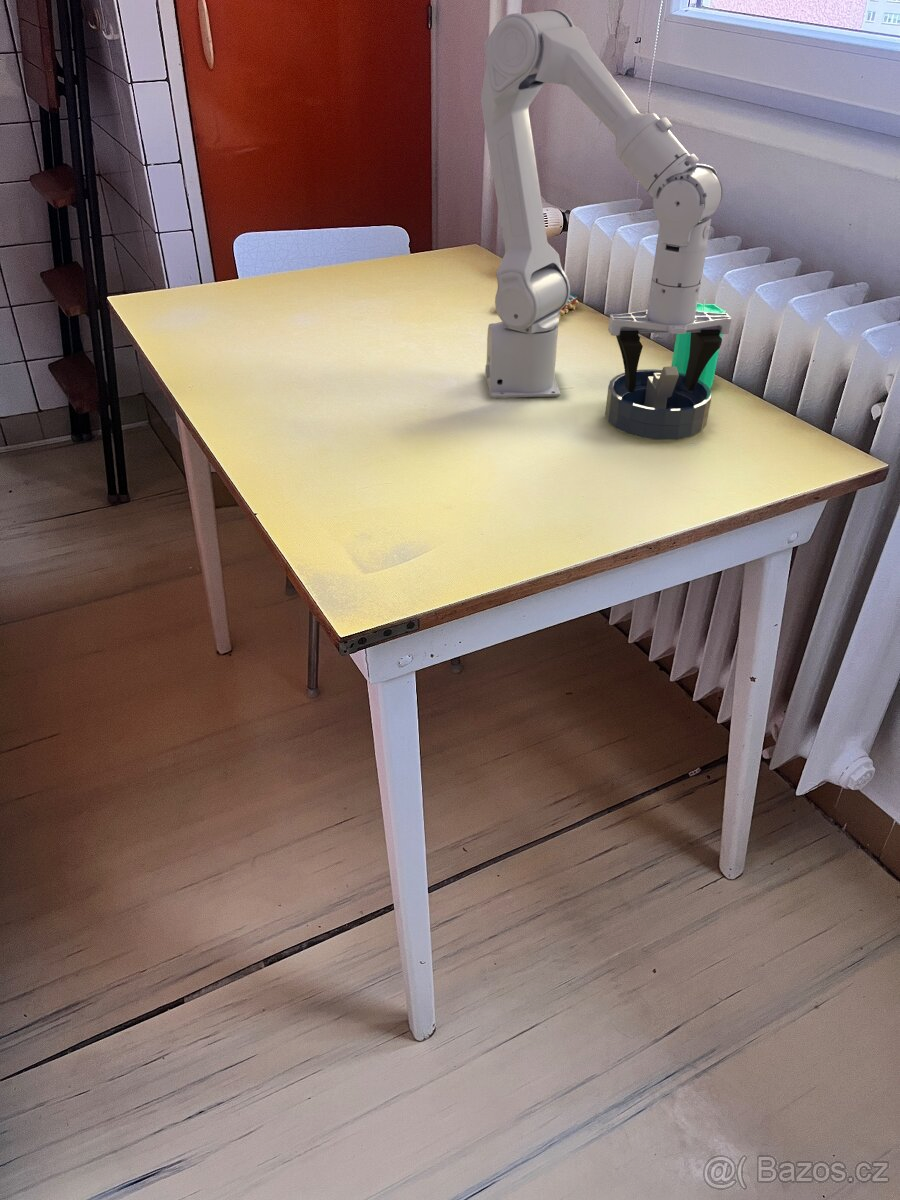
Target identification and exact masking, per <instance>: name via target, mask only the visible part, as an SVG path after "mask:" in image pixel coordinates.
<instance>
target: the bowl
mask: <svg viewBox="0 0 900 1200" xmlns="http://www.w3.org/2000/svg"><path fill="white" fill-rule="evenodd" d="M661 372H662V369H657V368H656V369H655V368H653V369H637V376H636V386H635V390H634V392H629V391H628V390H627V388H626V386H625V372H622V373H620V374H618V375H616V376H614V377H613V378H612V379H610V380H609V382H608V383H609V384H608V387H607V395H606V403H605V412H604V416H605V417H606V418H605V419H606V420H607V422H608V423H609V424H610V425H611V426H613V427H614V428H615V429H617V430H619V431H621V432H622V433H625V434H627V435H631V436H634V437H637V438H642V439H646V440H655V441H675V440H681V439H682V440H683V439H687V438H691V437H693V436H695V435H698V434H700V433H701V432H702V431H703V430H704V429H705V428H706V427H707V423H708V418H709V413H710V407H711V402H712V395H713V393H712V390H711V388H710V389H709V387H708V386H707V385H706V384H705V383H703V382H702V381H700V380H698V382H697V384H696V387H695V389H694V391H689V390H688V389H687V387H686V386H685V375H686V374H682V373H678V374H679V377H678V379H677V382H676V385H675V388H674V390H673V393H672V396H671V397H667V403H666V409H659V408H650V407H645V406H644V402H645V395H646V388H647V381H648V377H649V376H653V375H654V373H661Z"/></svg>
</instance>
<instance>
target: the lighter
mask: <svg viewBox="0 0 900 1200" xmlns="http://www.w3.org/2000/svg"><path fill="white" fill-rule="evenodd" d="M661 370H662V372H661V373H654V375H653V376H649V377H648V381H647V388H646V395H645V402H644V406H645V407H650V408H659V409H666V403H667V397H671V396H672V393H673V390H674V388H675V385H676V382H677V379H678V377H679V374H678V370H677V367H671V366H663V367H662V368H661Z"/></svg>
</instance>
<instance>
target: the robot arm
mask: <svg viewBox="0 0 900 1200" xmlns="http://www.w3.org/2000/svg"><path fill="white" fill-rule="evenodd" d="M483 49H484V54H485V55H484V56H485V61H486V64H485V70H484V76H483V80H482V86H481V87H482V88H481V92H480V106H481V112H482V118H483V124H484V125H483V126H484V130H485V136H486V143H487V148H488V154H489V159H490V167H491V173H492V179H493V185H494V190H495V197H496V203H497V210H498V216H499V222H500V228H501V232H502V239H503V246H504V251H505V252H504V255H503V257H502V259H501V261H500V263H499V265H498V268H497V270H496V274H495V275H496V282H497V288H496V294H495V297H494V299H495V300H494V306H495V311H496V313H497V315H498V318H499V320H500V321H499V322H493V323H489V324H488V326H487V337H486V340H487V341H486V364H485V369H484V371H485V372H484V373H485V379H486V383H487V387H488V392H489V395H490V397H491V398H495V399H496V398H539V397H540V398H541V397H560V396H561V390H560V388H559V386H558V383H557V381H556V378H555V373H556V362H557V361H556V360H557V347H558V335H559V322H560V320H559V314H560V309H562V308H563V307H564V306H565V305H566V303H567V301H568V299H569V296H570V293H571V284H570V281H569V278H568V276H567V274H566V273H565V271H564V269H563V267H562V264H561V259H560V254H559V253H558V251H557V250H556V249H555V248H554V247H553V246H551V245H550V243H549V242H548V237H547V230H546V221H545V215H544V209H543V208H544V207H543V202H542V196H541V195H542V194H541V187H540V182H539V175H538V167H537V166H538V165H537V159H536V153H535V147H534V140H533V134H532V133H533V132H532V126H531V120H530V119H531V118H530V111H529V109H530V108H529V107H530V105H531V104H532V102H533V101H534V100H535V98H536V96H537V95H538V93H539V92H540V90H541V89H542V88H543V86H544V85H545V83H548V84H553V85H554V84H555V85H560V86H561V85H562V86H566V87H568V88H569V89H570V90H571V91H572V92H573V93H574V94H575V95H576V96H577V98H579V99H580V101H582V102H583V104H584V105H585V106H586V107H587V108H588V109H589V110H590V111H591V112H592V113H593V114H594V115H595V116H596V118H597V119H598V120H599V121H601V123H602V124H603V125H604V126H605V127H606V128H607V129H608V130H609V131H610V132H611V133H612V134H613V135H614V137H615V154H616V156H617V157H618V159H619V160H620V161H621V163H623V165H624V166H625V167H626V168H627V169H628V170H629V171H630V173H631V175H633V176H634V178H635V179H636V180H637V181H638V183H639V184H640V185H641V186H642V187H643V189H644V190H645V191H646V192H647V193H648V194H649V196H650V197H651V198H653V199H652V200H653V201H652V208H653V213H654V216H655V218H656V220H657V222H658V224H659V227H658V234H657V239H656V244H655V245H656V247H655V254H654V261H653V266H652V274H651V280H650V289H649V296H648V302H647V309H645V310H639V311H633V312H627V313H618V314H617V313H616V314H609V319H608V326H607V330H608V333H609V334H610V335H611V336H612V337H613V336H615V337H616V340H617V344H618V346H619V350H620V353H621V357H622V362H623V369H624V373H625V386H626V388H627V390H628V391H629V392H634V390H635V386H636V376H637V370H638V366H639V361H640V357H641V354H642V350H643V347H644V346H643V344H642V342H641V336H640V335H639V334H672V335H676V334H685V333H691V341H690V353H689V360H688V365H687V370H686V375H685V386H686V387H687V389H688V390H689V391H694V389H695V387H696V384H697V382H698V379H699V377H700V375H701V373H702V371H703V370H704V368H705V366H706V365H707V363H708V362H709V360H710V359H711V357H712V356H713V355H714V354H715V352H716V351H717V350H718V349H719V350H720V348H721V346H722V343H723V342H722V341H723V339H722V338H721V337H720V336H719V335H720V334H722V335H729V333H730V330H731V324H732V317H731V315H729V314H728V313H727V312H726V313H711V312H701V311H696V308H697V303H699V302H698V301H699V295H700V289H701V284H702V279H703V273H704V267H705V262H706V261H705V260H706V255H707V249H708V244H709V236H710V235H709V234H710V229H711V224H712V218H711V216H712V215H713V214H714V213H715V212H716V211H717V210H718V208H719V207H721V204H722V201H723V197H724V187H723V183H722V180H721V178H720V177H719V175H718V173H717V170H716V168H714V167H713V166H711V165H708V164H705V163H699V161H700V160H699V158H698V156H696V154H695V153H692V154H690V153H689V152H688V151H687V150H686V149H685V147H684V146H683V145H682V144H681V142H680V141H679V140H678V139H677V137H675V135H674V134H673V133H672V132H671V128H672V127H673V124H672V123H671V121H670V120H669V119H668V118H667V117H662V118H660V117H659V116H658V115H657V113H640V112H639V110H638V109H637V108H636V106H635V105H634V103H633V102H632V101H631V99H630V98H629V97H628V96H627V93H625V91H623V89H622V87H621V86H620V84H618V82H617V80H616V79H615V77H614V76H613V75H612V74H611V73H610V71H609V70H608V69H607V67H606V66H605V65H604V63H603V61H601V59H600V57H599V56H598V55H597V54H596V53H595V51H594V50H593V48H592V47H591V45H590V42H589V40H588V38H587V35H586V33H585V32H584V31H583V30H582V29H581V28H580V27H579V26H577V25H575V24H574V21H573V20H572V18H571V17H570V16H569V15H568V14H567V13H566V12H565V11H563V10H561V9H558V8H548V9H545V10H543V11H535V12H527V13H519V12H518V13H509V14H506V15H504V16H503V17H501V19H499V21H498V22H496V25H495V26H494V28H493V29H492V31H491V32H490V34H489V35H488V37H487V38H486V40H485V42H484V44H483Z"/></svg>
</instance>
